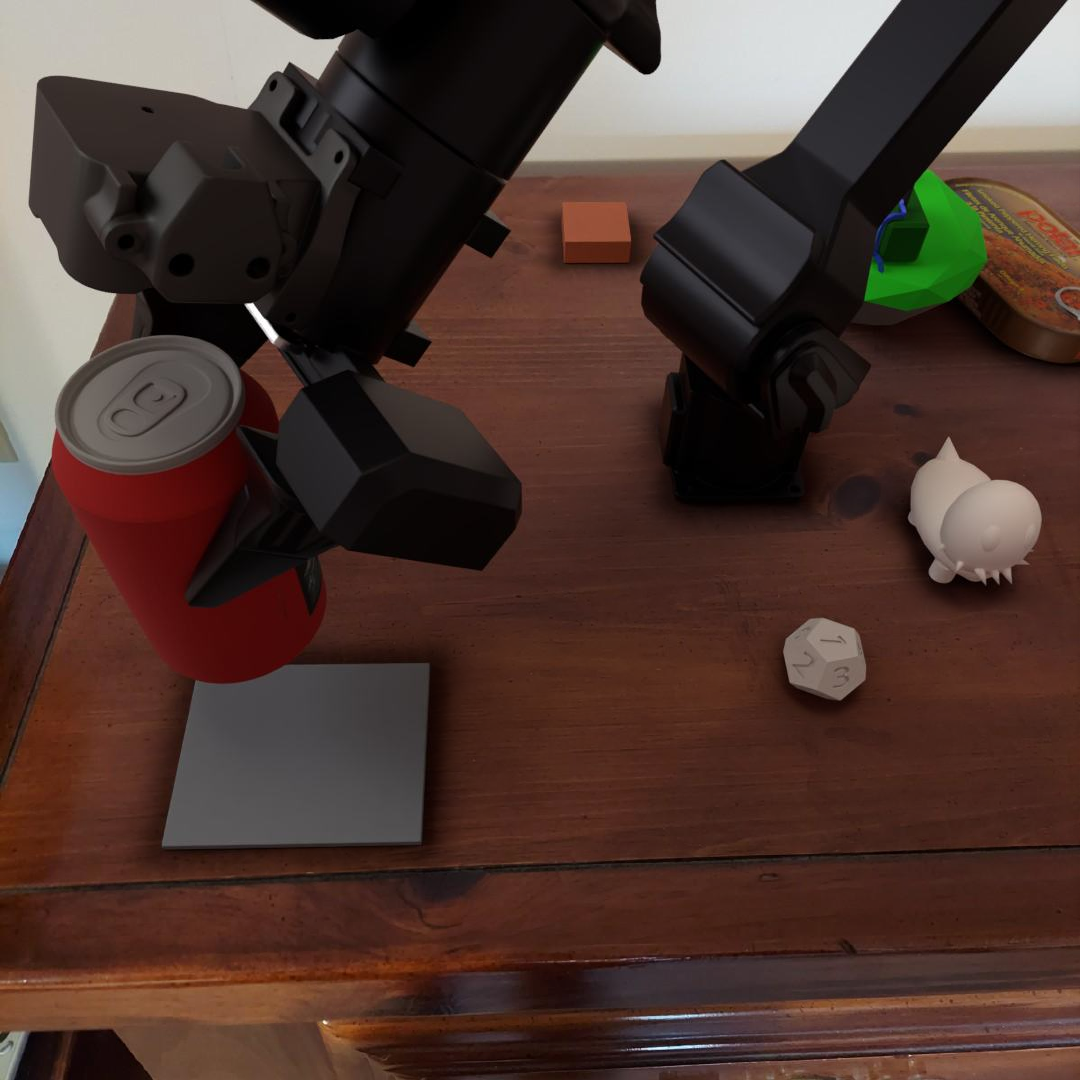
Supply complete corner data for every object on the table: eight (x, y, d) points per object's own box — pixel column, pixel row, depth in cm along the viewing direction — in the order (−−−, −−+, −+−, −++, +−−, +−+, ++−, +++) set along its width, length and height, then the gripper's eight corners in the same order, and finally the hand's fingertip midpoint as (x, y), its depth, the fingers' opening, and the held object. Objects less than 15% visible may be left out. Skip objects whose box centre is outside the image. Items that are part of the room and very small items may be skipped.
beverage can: (366, 597, 40) (314, 374, 30) (247, 728, 36) (144, 523, 27) (239, 522, 42) (152, 291, 32) (115, 639, 38) (-23, 419, 29)
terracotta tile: (624, 223, 64) (626, 201, 63) (629, 263, 62) (631, 241, 60) (561, 223, 64) (562, 201, 63) (563, 263, 62) (564, 241, 60)
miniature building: (979, 367, 56) (1064, 194, 47) (770, 367, 56) (817, 193, 47) (925, 235, 63) (990, 64, 55) (740, 235, 63) (776, 63, 54)
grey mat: (430, 667, 44) (429, 662, 44) (422, 845, 39) (421, 841, 39) (200, 670, 44) (198, 665, 44) (163, 850, 39) (160, 846, 39)
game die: (771, 638, 45) (785, 601, 43) (854, 645, 45) (873, 608, 43) (776, 708, 43) (791, 673, 41) (863, 715, 43) (883, 681, 41)
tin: (892, 191, 62) (1006, 156, 64) (880, 234, 64) (990, 199, 66) (1054, 348, 54) (1180, 304, 55) (1032, 390, 56) (1154, 346, 58)
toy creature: (927, 621, 46) (977, 539, 41) (878, 487, 51) (918, 399, 46) (1024, 616, 46) (1085, 533, 41) (966, 483, 51) (1016, 395, 46)
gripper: (41, -189, 26) (-177, 295, 31) (366, 157, 17) (-20, 765, 22) (355, 34, 35) (145, 382, 40) (682, 342, 26) (354, 744, 31)
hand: (158, 528), depth 33 cm, fingers closed on beverage can, 7 cm apart
